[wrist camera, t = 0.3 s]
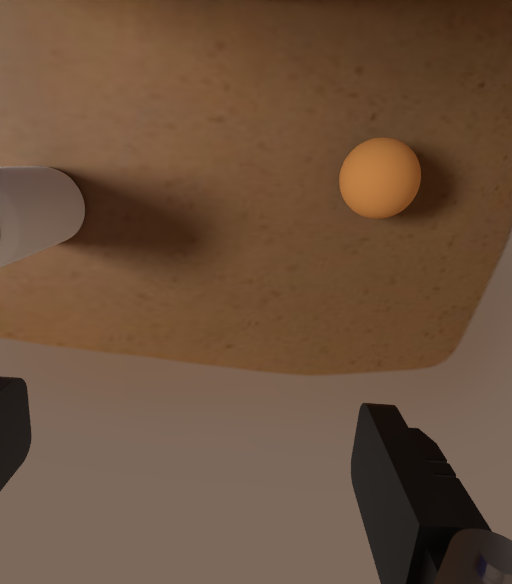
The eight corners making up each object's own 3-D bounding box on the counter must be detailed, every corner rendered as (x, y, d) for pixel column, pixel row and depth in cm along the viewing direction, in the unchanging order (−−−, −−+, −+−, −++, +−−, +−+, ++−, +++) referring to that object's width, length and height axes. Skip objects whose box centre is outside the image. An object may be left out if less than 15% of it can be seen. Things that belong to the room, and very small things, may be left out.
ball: (338, 136, 34) (353, 132, 28) (411, 141, 34) (441, 138, 28) (329, 211, 36) (342, 221, 30) (399, 216, 36) (425, 226, 30)
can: (99, 191, 36) (23, 206, 24) (69, 255, 37) (-16, 297, 26) (28, 150, 35) (-87, 145, 23) (0, 218, 36) (-120, 244, 25)
